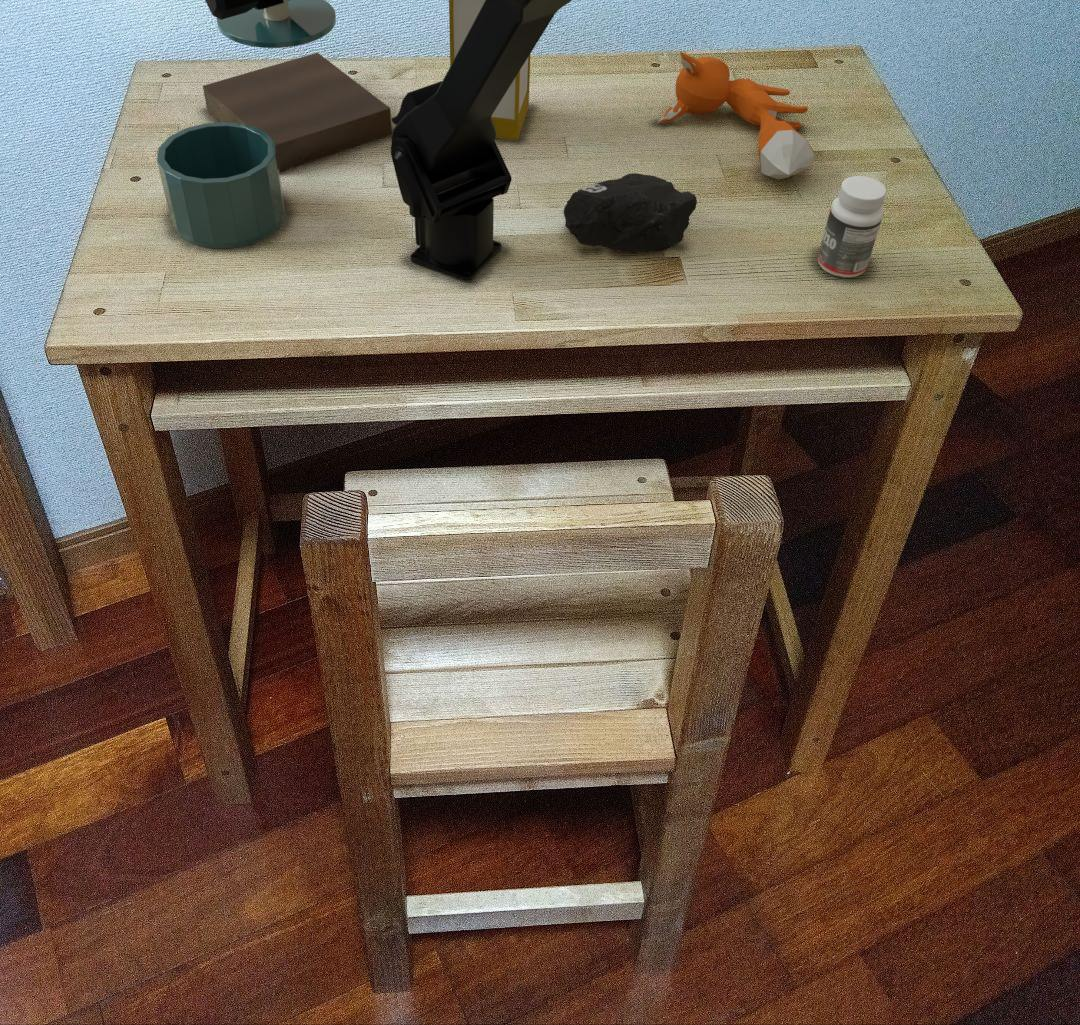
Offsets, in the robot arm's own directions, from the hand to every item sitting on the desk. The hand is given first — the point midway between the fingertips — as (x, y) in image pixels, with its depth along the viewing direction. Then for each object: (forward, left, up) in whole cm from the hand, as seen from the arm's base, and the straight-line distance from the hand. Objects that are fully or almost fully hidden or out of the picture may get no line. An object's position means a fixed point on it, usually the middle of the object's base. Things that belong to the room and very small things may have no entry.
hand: (268, 0), depth 113 cm
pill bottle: (-60, -7, -13) cm, 62 cm away
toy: (-44, -23, -13) cm, 52 cm away
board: (-1, -1, -13) cm, 13 cm away
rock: (-40, -1, -13) cm, 42 cm away
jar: (-6, +17, -13) cm, 23 cm away
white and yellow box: (-19, -10, -13) cm, 25 cm away
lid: (-1, +1, -2) cm, 2 cm away
